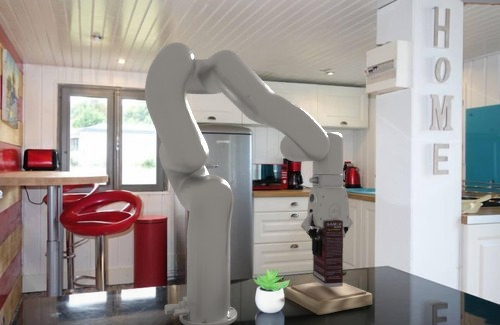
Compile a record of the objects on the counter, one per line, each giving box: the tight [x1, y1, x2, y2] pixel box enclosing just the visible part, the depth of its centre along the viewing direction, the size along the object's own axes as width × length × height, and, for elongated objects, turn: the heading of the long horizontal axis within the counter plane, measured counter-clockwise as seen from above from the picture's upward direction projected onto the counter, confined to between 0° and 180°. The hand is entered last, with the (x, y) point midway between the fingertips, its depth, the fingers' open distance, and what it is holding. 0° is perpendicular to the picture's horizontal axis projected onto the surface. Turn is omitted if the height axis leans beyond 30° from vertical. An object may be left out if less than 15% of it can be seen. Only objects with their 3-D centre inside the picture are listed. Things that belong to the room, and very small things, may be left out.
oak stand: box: [285, 281, 373, 315], centre depth 102 cm, size 16×14×3 cm
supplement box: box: [312, 220, 344, 287], centre depth 102 cm, size 9×5×16 cm, turn 12°
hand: (327, 253), depth 102 cm, fingers closed on supplement box, 5 cm apart
